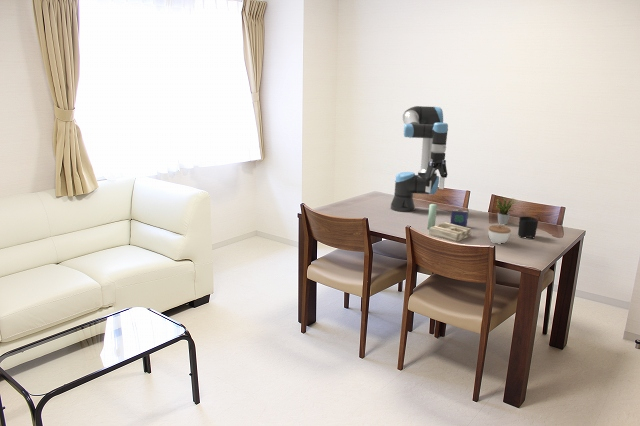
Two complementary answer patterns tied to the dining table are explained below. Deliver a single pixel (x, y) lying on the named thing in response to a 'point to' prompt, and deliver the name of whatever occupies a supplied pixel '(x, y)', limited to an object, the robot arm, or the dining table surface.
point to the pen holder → (527, 227)
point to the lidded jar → (499, 233)
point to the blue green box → (459, 217)
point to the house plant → (504, 211)
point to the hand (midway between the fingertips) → (434, 190)
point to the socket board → (450, 232)
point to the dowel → (432, 215)
